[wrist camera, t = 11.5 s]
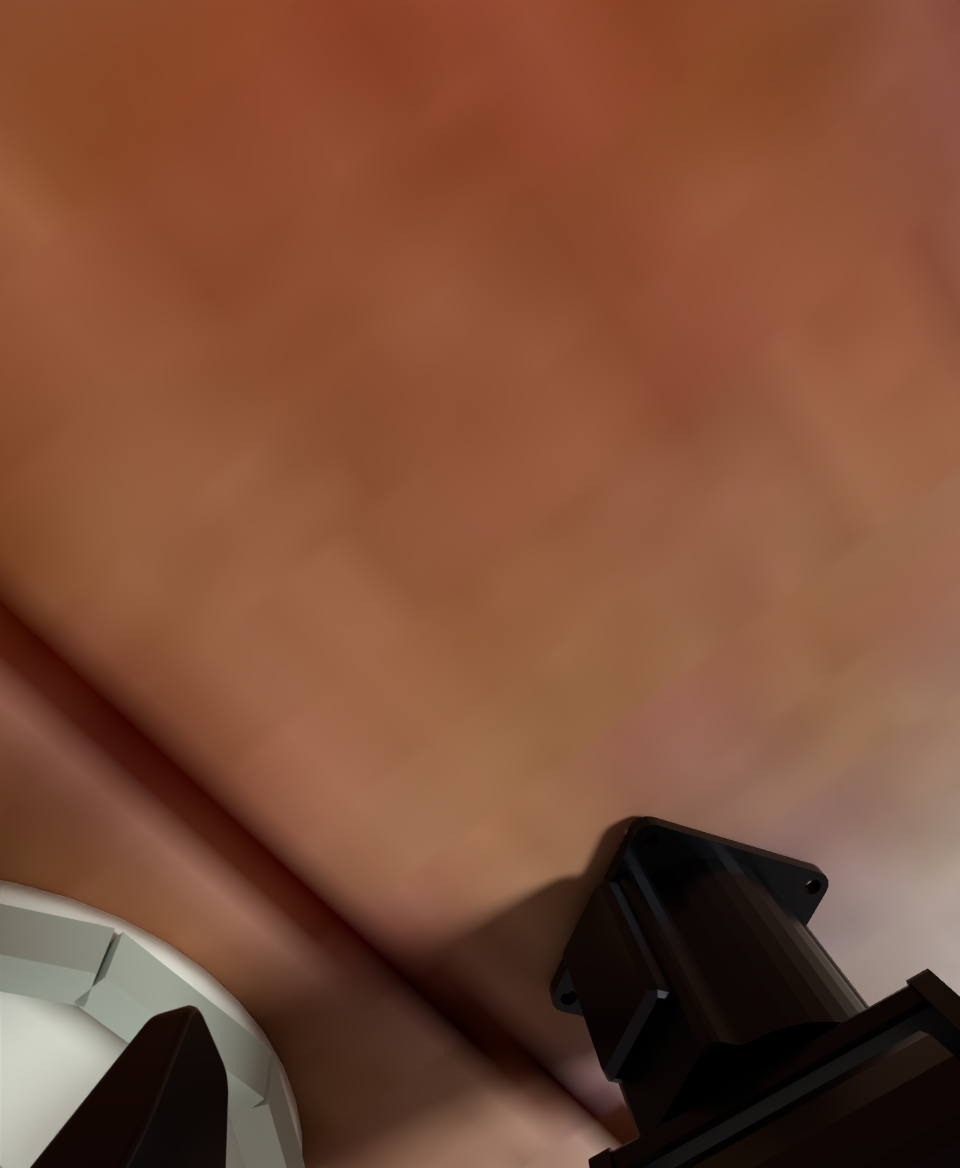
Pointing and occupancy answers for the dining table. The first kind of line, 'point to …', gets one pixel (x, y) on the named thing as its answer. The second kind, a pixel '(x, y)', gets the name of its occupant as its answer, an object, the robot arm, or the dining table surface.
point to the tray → (80, 1042)
